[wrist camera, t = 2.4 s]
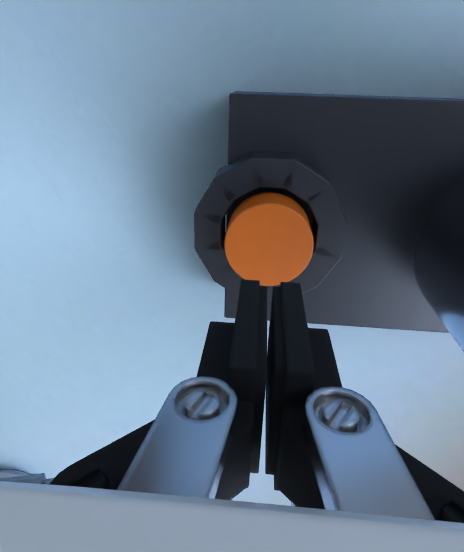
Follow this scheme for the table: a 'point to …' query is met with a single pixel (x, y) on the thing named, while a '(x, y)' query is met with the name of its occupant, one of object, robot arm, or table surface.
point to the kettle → (444, 261)
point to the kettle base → (341, 196)
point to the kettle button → (269, 239)
